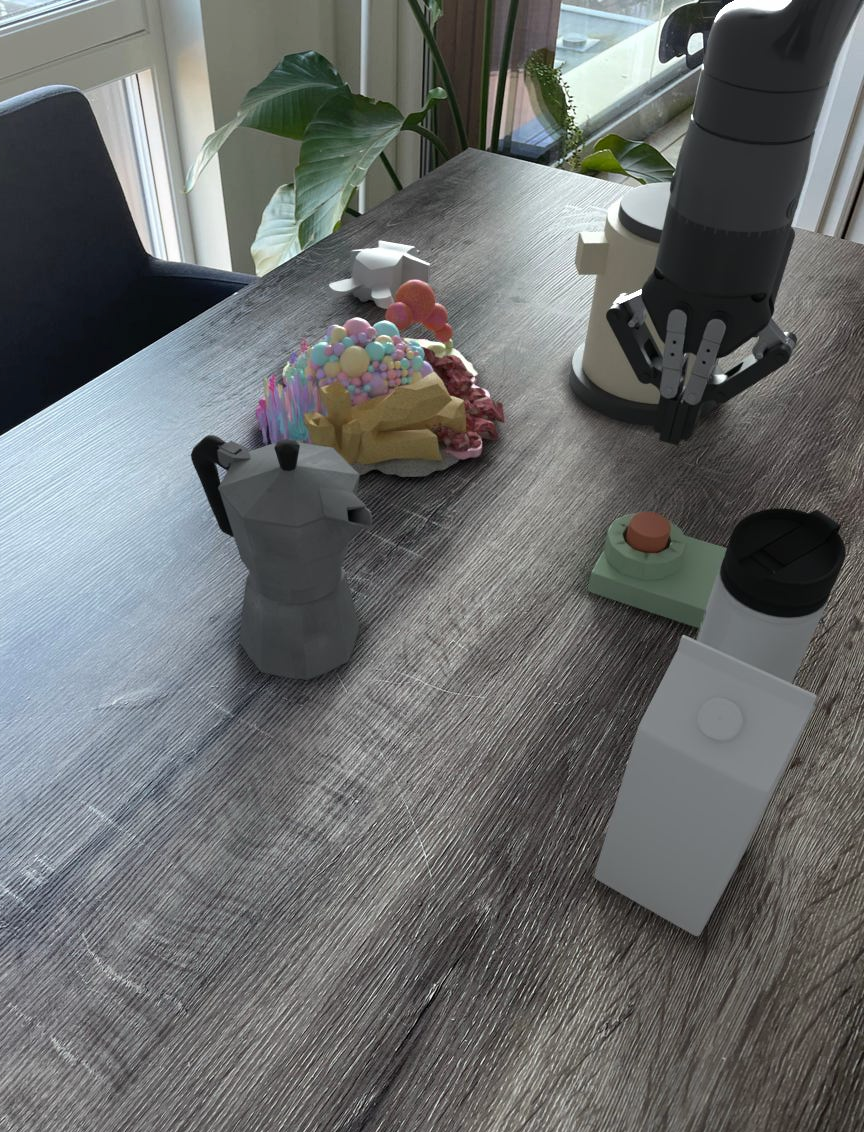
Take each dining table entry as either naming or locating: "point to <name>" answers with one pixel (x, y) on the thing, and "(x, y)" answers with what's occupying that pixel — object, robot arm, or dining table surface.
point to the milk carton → (699, 781)
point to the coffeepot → (289, 548)
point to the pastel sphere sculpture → (384, 393)
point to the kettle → (625, 268)
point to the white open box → (381, 273)
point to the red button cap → (648, 532)
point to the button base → (658, 574)
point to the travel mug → (773, 588)
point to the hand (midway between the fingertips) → (671, 437)
